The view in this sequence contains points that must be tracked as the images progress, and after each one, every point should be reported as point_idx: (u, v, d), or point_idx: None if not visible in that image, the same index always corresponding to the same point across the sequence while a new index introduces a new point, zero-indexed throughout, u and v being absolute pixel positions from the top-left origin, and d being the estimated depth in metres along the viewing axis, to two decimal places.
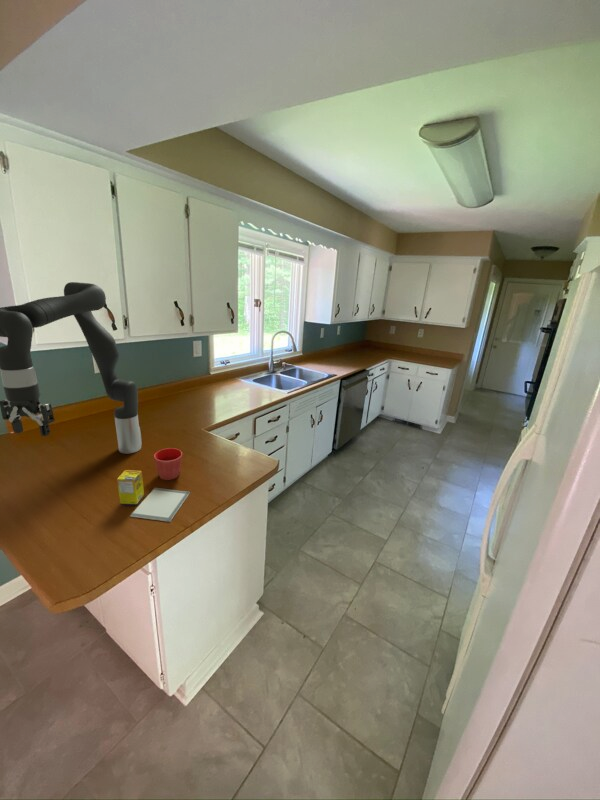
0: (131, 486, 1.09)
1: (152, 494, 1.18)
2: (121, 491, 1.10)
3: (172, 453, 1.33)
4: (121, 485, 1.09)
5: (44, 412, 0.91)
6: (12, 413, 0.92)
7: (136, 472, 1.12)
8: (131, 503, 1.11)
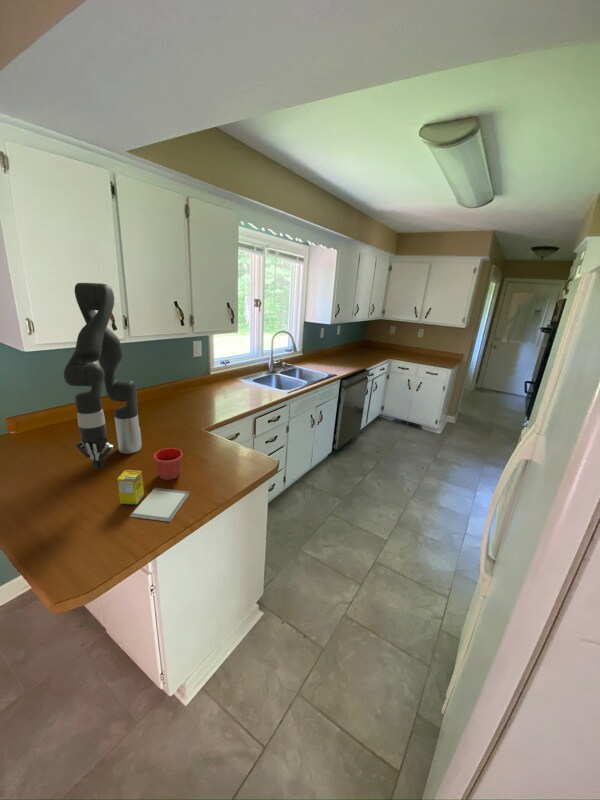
0: (131, 486, 1.09)
1: (152, 494, 1.18)
2: (121, 491, 1.10)
3: (172, 453, 1.33)
4: (121, 485, 1.09)
5: (107, 452, 1.07)
6: (88, 450, 1.07)
7: (136, 472, 1.12)
8: (131, 503, 1.11)
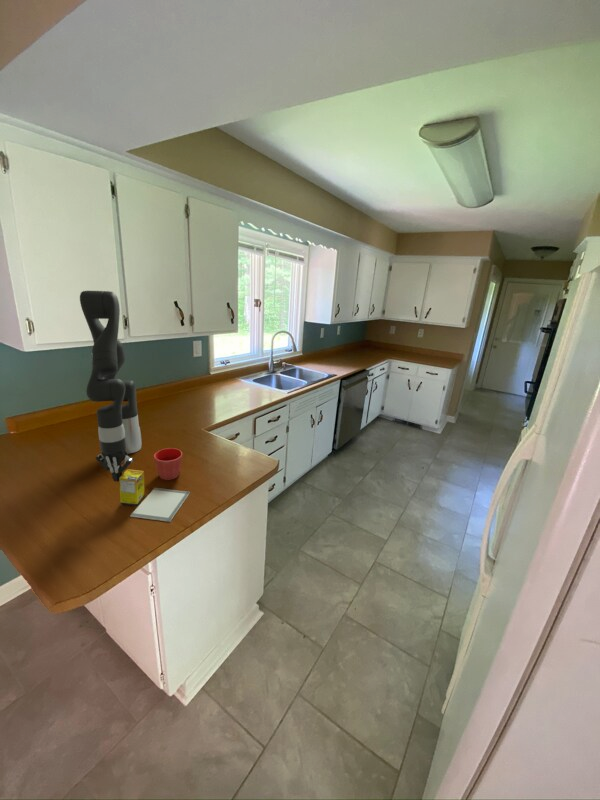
0: (133, 486, 1.09)
1: (152, 494, 1.18)
2: (122, 490, 1.10)
3: (172, 453, 1.33)
4: (123, 485, 1.09)
5: (126, 465, 1.08)
6: (108, 463, 1.08)
7: (138, 472, 1.12)
8: (131, 503, 1.11)
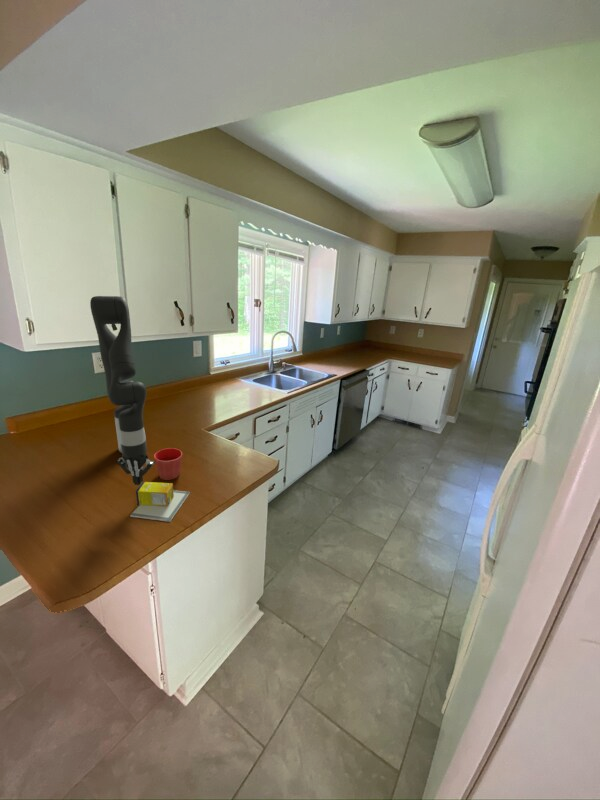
0: (159, 503, 1.12)
1: None
2: (152, 494, 1.10)
3: (172, 453, 1.33)
4: (159, 495, 1.11)
5: (147, 469, 1.08)
6: (129, 467, 1.08)
7: (172, 495, 1.16)
8: (139, 500, 1.11)
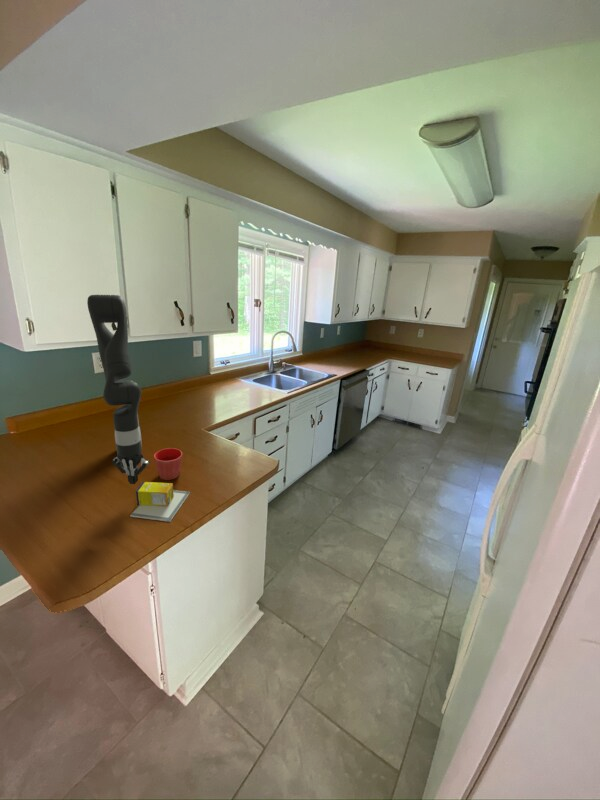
0: (159, 503, 1.12)
1: None
2: (152, 494, 1.10)
3: (172, 453, 1.33)
4: (159, 495, 1.11)
5: (142, 468, 1.09)
6: (124, 466, 1.08)
7: (172, 495, 1.16)
8: (139, 500, 1.11)
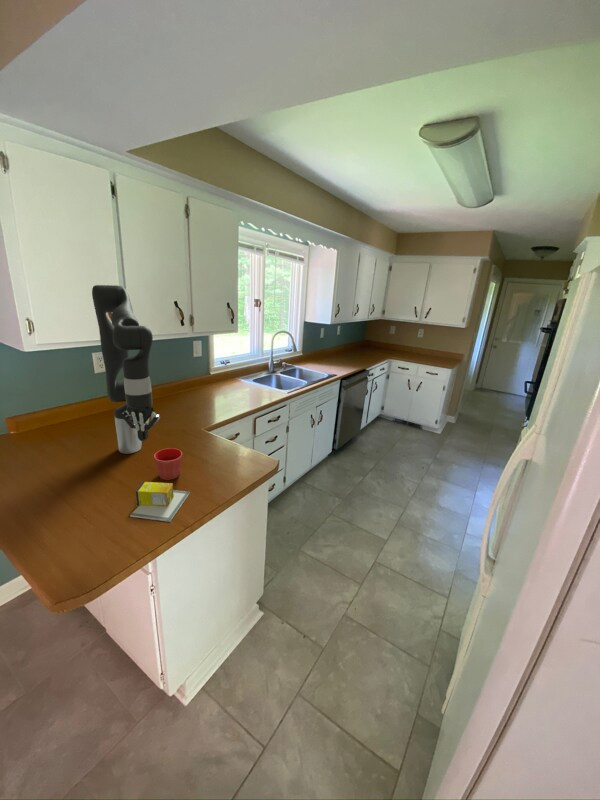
0: (159, 503, 1.12)
1: None
2: (152, 494, 1.10)
3: (172, 453, 1.33)
4: (159, 495, 1.11)
5: (153, 422, 1.01)
6: (134, 420, 1.01)
7: (172, 495, 1.16)
8: (139, 500, 1.11)
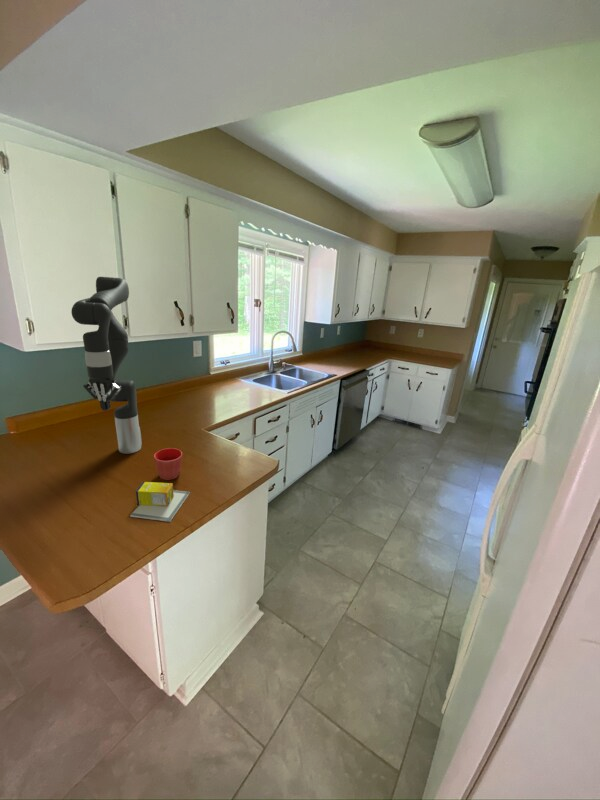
0: (159, 503, 1.12)
1: None
2: (152, 494, 1.10)
3: (172, 453, 1.33)
4: (159, 495, 1.11)
5: (114, 393, 1.10)
6: (96, 391, 1.10)
7: (172, 495, 1.16)
8: (139, 500, 1.11)
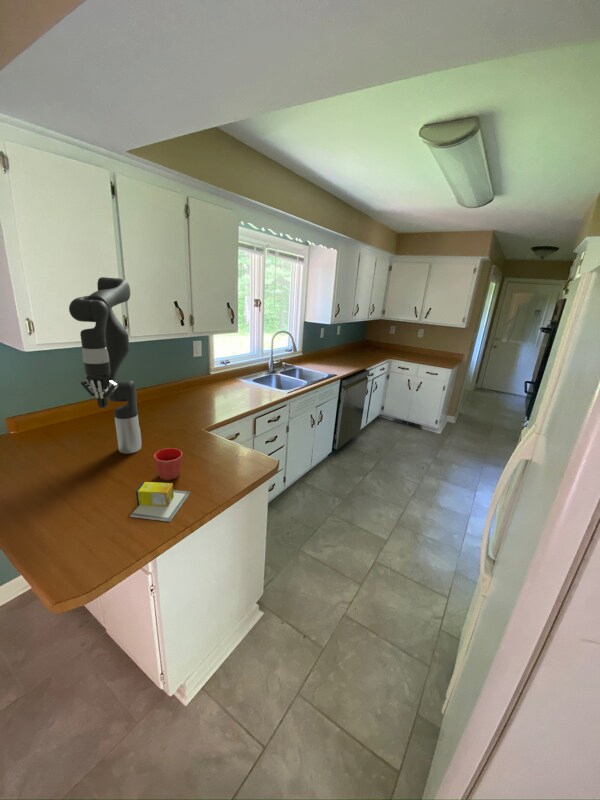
0: (159, 503, 1.12)
1: None
2: (152, 494, 1.10)
3: (172, 453, 1.33)
4: (159, 495, 1.11)
5: (111, 390, 1.10)
6: (93, 388, 1.10)
7: (172, 495, 1.16)
8: (139, 500, 1.11)
